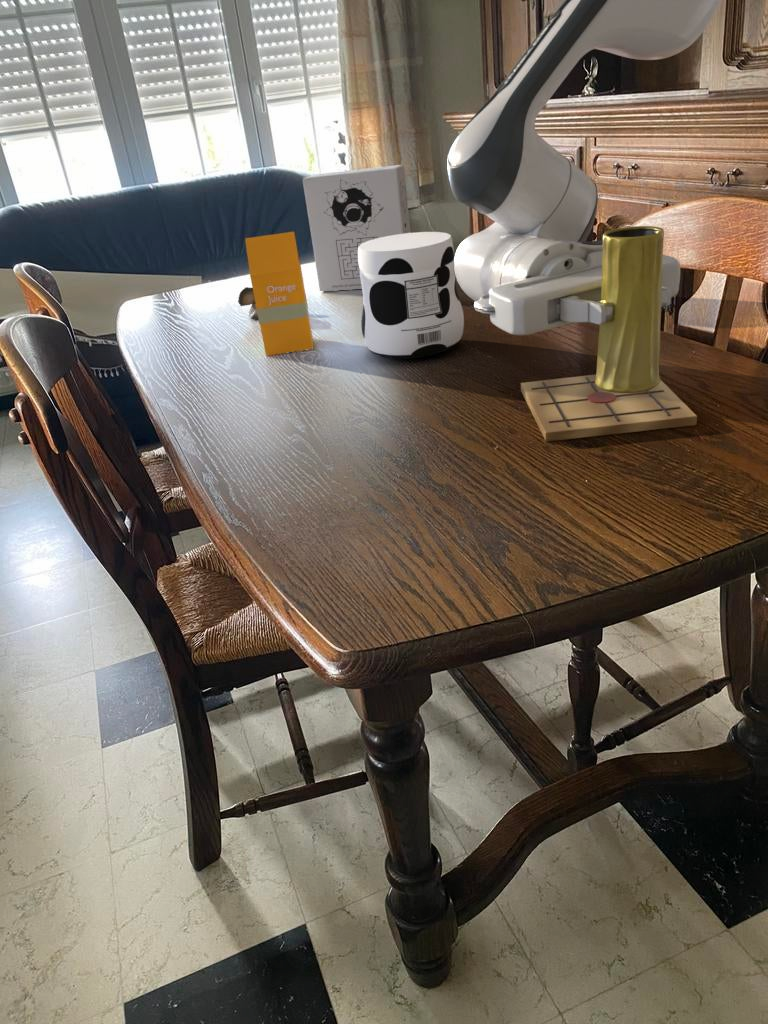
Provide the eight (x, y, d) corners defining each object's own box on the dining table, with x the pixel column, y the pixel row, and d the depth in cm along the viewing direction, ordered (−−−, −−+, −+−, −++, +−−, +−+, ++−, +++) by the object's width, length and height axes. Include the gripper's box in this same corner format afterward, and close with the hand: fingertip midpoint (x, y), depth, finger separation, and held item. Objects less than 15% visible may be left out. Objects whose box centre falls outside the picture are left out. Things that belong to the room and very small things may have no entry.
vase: (586, 377, 76) (588, 231, 70) (645, 368, 77) (653, 222, 70) (606, 397, 71) (611, 242, 64) (670, 388, 71) (681, 232, 64)
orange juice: (267, 344, 143) (245, 235, 133) (313, 338, 143) (295, 228, 133) (265, 356, 136) (242, 242, 126) (313, 349, 136) (294, 234, 126)
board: (649, 376, 105) (649, 367, 104) (696, 425, 89) (697, 415, 89) (520, 390, 106) (520, 381, 105) (545, 441, 90) (545, 431, 90)
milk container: (402, 332, 139) (391, 230, 130) (484, 338, 130) (478, 229, 121) (345, 361, 127) (329, 252, 119) (430, 371, 118) (419, 253, 109)
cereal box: (415, 279, 178) (404, 164, 165) (408, 286, 171) (397, 168, 159) (328, 285, 183) (312, 174, 171) (319, 292, 177) (301, 178, 165)
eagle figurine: (236, 308, 167) (231, 310, 159) (249, 278, 166) (244, 278, 157) (268, 323, 169) (264, 326, 160) (280, 293, 167) (277, 295, 158)
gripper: (463, 273, 76) (543, 295, 65) (625, 236, 82) (723, 251, 71) (467, 333, 79) (544, 365, 68) (623, 294, 85) (717, 317, 74)
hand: (637, 306), depth 69 cm, fingers closed on vase, 5 cm apart
